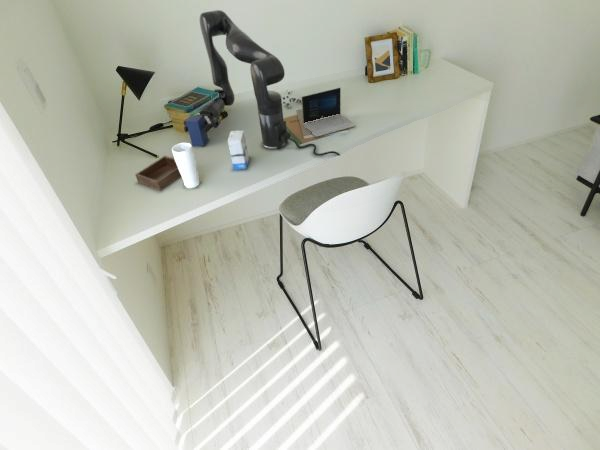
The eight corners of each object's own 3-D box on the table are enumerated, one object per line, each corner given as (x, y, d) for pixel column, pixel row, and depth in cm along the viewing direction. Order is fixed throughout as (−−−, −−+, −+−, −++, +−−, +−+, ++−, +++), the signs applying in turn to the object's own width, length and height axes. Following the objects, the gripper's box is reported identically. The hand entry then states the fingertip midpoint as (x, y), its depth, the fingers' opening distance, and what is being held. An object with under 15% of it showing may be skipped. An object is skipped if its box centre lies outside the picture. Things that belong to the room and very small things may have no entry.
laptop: (315, 138, 161) (314, 107, 153) (303, 126, 170) (301, 96, 162) (354, 127, 166) (355, 97, 158) (340, 116, 175) (340, 87, 167)
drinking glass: (184, 180, 144) (173, 143, 134) (203, 178, 144) (193, 141, 134) (181, 191, 138) (169, 153, 129) (201, 189, 139) (190, 151, 129)
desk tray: (189, 170, 149) (187, 162, 146) (160, 190, 139) (157, 182, 137) (167, 163, 154) (164, 155, 151) (138, 182, 144) (135, 174, 142)
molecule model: (306, 108, 188) (306, 90, 187) (287, 107, 181) (287, 88, 179) (298, 109, 193) (298, 92, 191) (278, 108, 186) (278, 90, 184)
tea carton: (208, 139, 166) (202, 115, 159) (203, 146, 162) (197, 121, 155) (197, 139, 167) (191, 115, 160) (192, 146, 163) (185, 121, 156)
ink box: (246, 169, 146) (241, 141, 139) (232, 170, 147) (227, 141, 139) (249, 157, 153) (244, 129, 145) (236, 158, 153) (231, 130, 146)
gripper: (192, 104, 170) (176, 121, 158) (223, 104, 168) (209, 122, 156) (196, 120, 175) (181, 138, 163) (227, 121, 172) (213, 139, 160)
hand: (195, 130), depth 159 cm, fingers open, 8 cm apart
